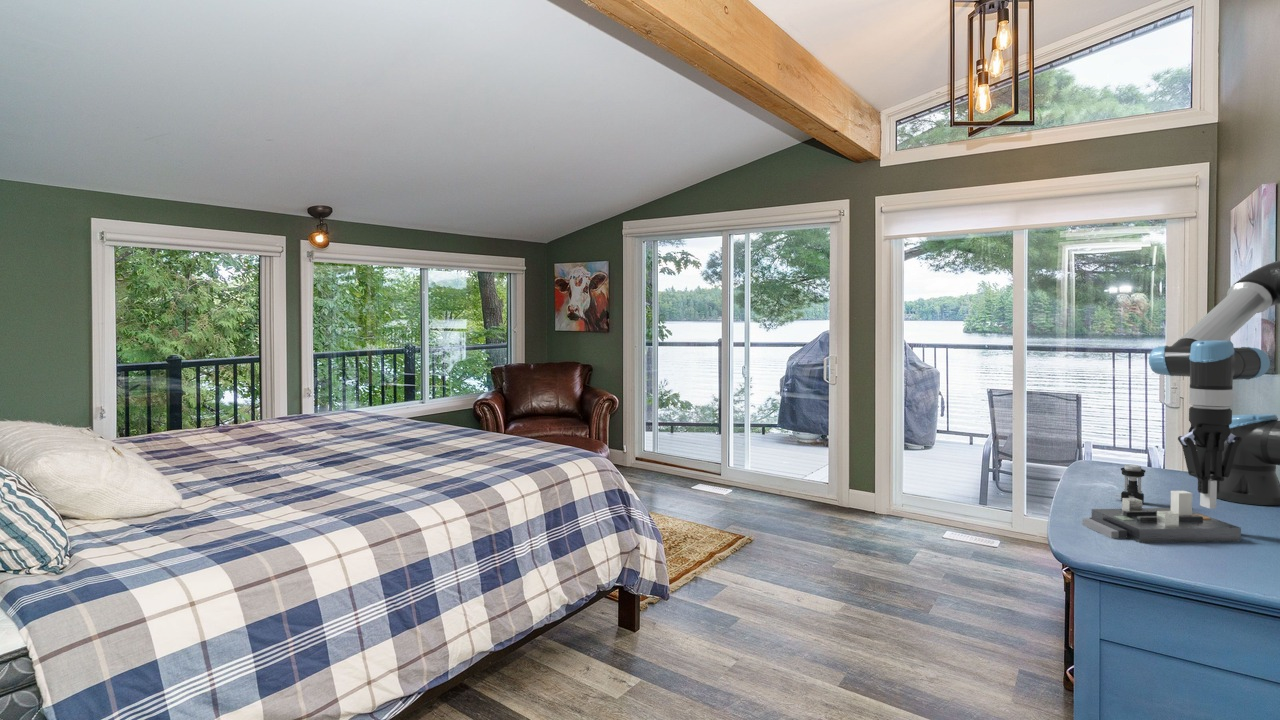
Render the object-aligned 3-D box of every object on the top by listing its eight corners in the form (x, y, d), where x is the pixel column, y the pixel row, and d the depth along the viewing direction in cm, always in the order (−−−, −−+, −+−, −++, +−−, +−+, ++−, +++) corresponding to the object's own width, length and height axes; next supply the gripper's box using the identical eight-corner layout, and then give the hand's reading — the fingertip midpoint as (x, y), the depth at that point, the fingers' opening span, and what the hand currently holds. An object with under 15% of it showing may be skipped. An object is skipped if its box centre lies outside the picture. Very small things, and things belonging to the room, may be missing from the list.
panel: (1182, 519, 159) (1182, 495, 159) (1240, 541, 143) (1241, 514, 143) (1091, 520, 160) (1091, 497, 160) (1139, 542, 144) (1139, 516, 144)
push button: (1112, 501, 176) (1113, 465, 175) (1116, 497, 180) (1116, 462, 179) (1143, 506, 171) (1143, 468, 171) (1146, 501, 175) (1146, 465, 174)
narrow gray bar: (1096, 524, 157) (1096, 517, 157) (1126, 538, 147) (1126, 530, 147) (1082, 524, 157) (1082, 517, 157) (1111, 538, 147) (1111, 530, 147)
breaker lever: (1183, 515, 152) (1183, 490, 152) (1191, 518, 150) (1192, 493, 150) (1170, 515, 152) (1170, 490, 152) (1178, 518, 150) (1179, 493, 150)
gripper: (1224, 404, 153) (1222, 502, 154) (1168, 405, 154) (1166, 503, 155) (1254, 408, 146) (1251, 511, 147) (1194, 409, 146) (1192, 511, 147)
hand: (1208, 506), depth 151 cm, fingers closed
